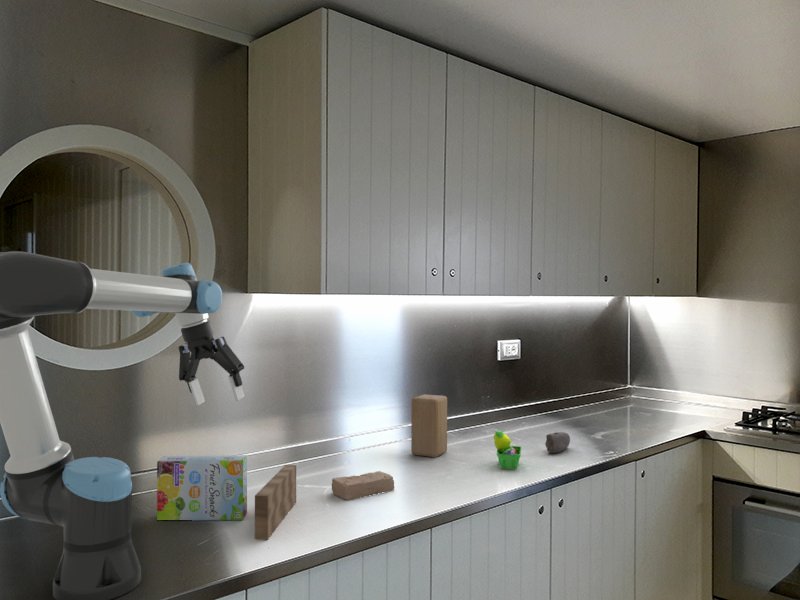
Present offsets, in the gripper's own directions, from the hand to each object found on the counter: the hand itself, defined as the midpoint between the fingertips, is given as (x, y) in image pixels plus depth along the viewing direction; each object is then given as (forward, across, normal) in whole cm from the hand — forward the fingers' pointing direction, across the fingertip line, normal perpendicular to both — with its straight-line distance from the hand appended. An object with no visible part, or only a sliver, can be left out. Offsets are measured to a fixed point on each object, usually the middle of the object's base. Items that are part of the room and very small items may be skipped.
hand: (220, 401), depth 164 cm
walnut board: (+30, -13, +7) cm, 33 cm away
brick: (+39, -21, -20) cm, 48 cm away
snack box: (+25, +4, +14) cm, 29 cm away
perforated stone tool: (+63, -59, -89) cm, 124 cm away
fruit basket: (+55, -48, -63) cm, 97 cm away
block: (+50, -20, -67) cm, 86 cm away
